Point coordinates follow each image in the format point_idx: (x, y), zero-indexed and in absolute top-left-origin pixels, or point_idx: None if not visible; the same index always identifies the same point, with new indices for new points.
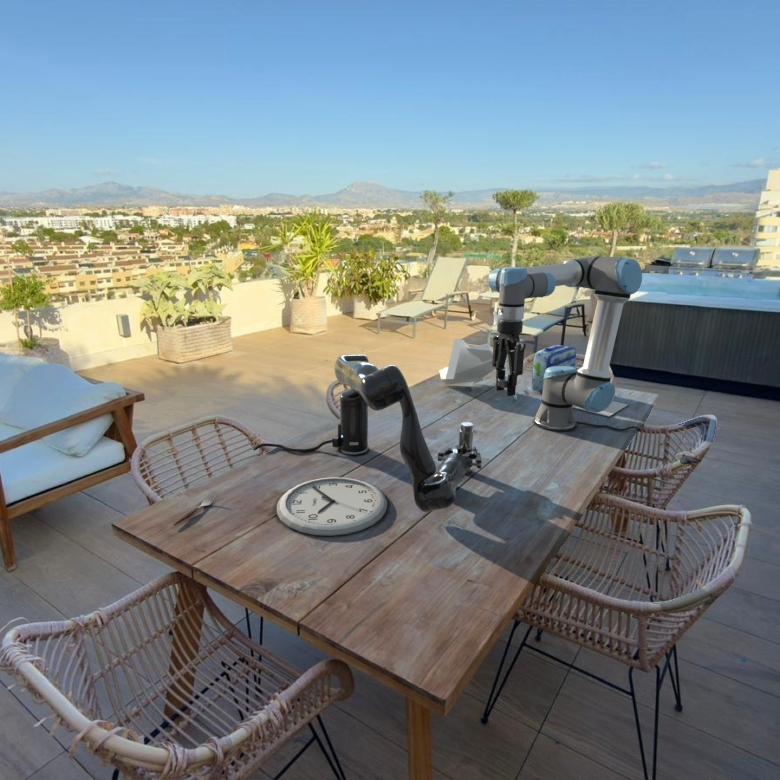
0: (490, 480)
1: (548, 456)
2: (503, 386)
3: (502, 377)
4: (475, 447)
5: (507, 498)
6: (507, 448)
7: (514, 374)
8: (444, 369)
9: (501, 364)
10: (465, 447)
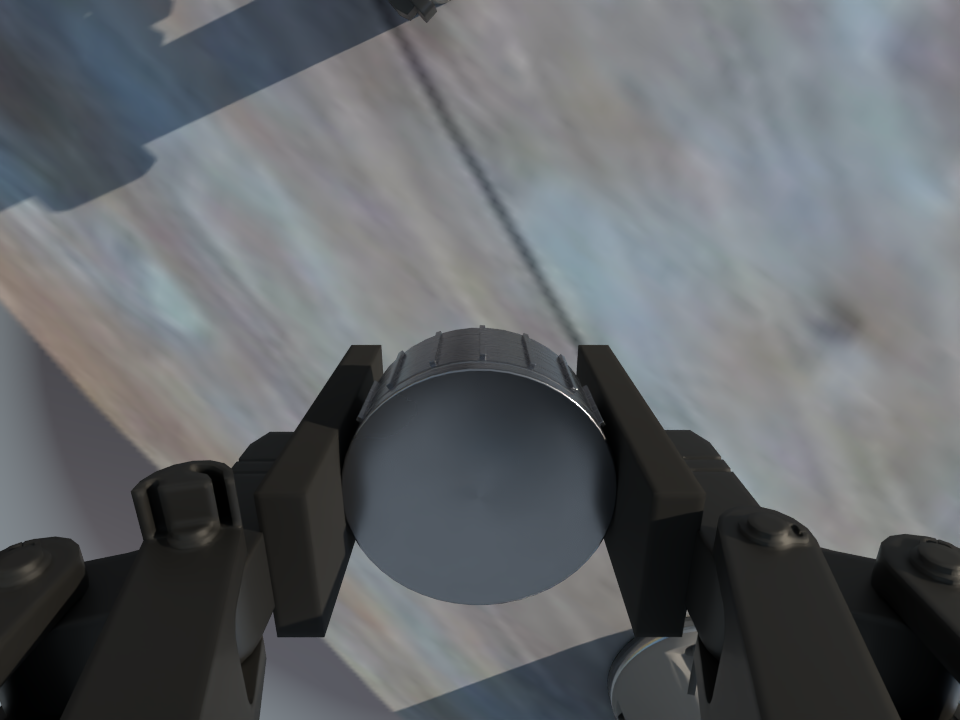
0: (290, 47)
1: None
2: (400, 357)
3: (551, 476)
4: (412, 1)
5: (89, 9)
6: None
7: (27, 548)
8: None
9: (720, 686)
10: None
